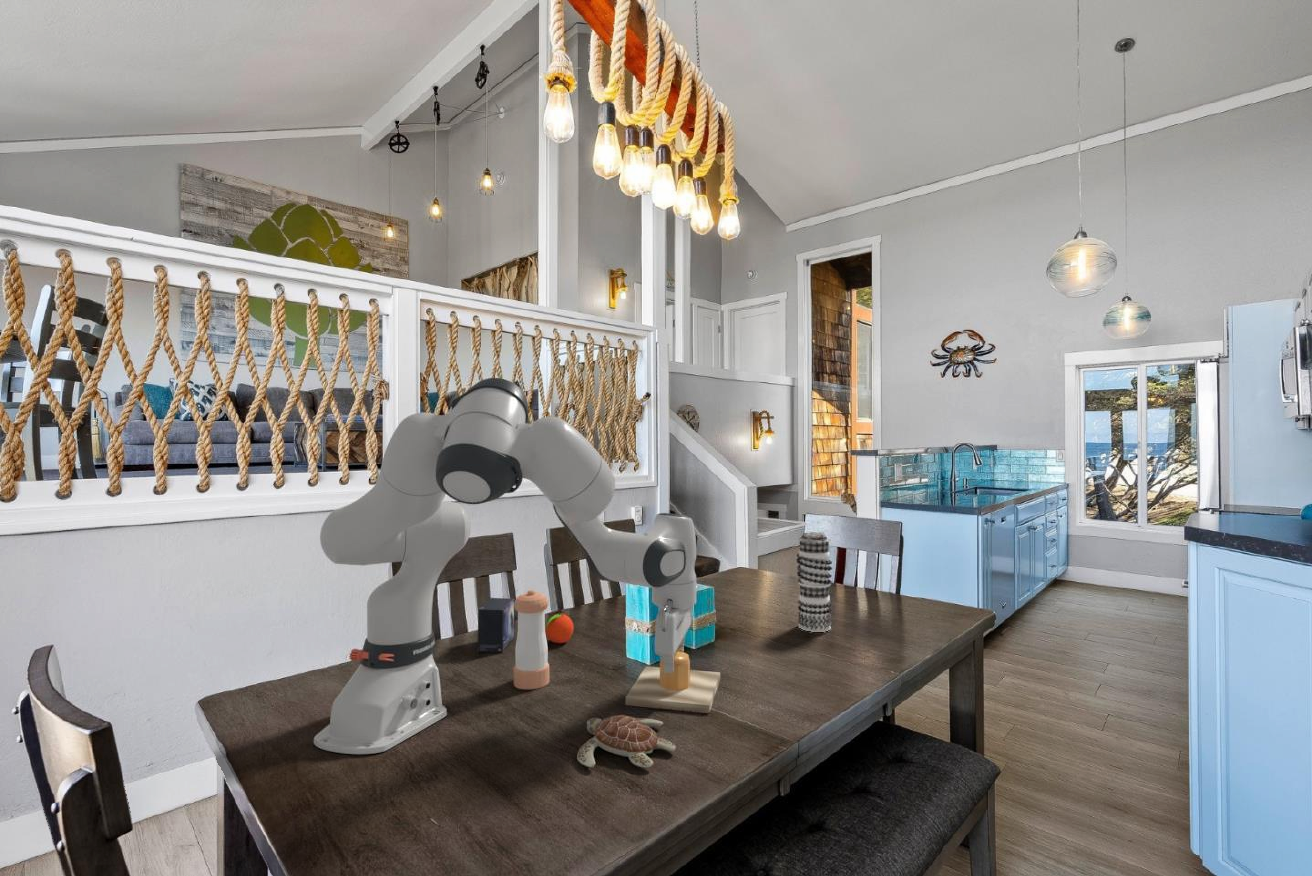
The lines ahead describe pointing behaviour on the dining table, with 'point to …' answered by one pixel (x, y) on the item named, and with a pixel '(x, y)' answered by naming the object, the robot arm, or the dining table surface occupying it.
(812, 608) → the decorative candle
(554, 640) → the clementine
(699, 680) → the square peg board
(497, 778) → the dining table surface
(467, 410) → the robot arm
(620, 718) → the decorative turtle
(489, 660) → the dining table surface
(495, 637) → the small box
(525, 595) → the salt shaker
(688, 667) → the tan rounded cylinder
